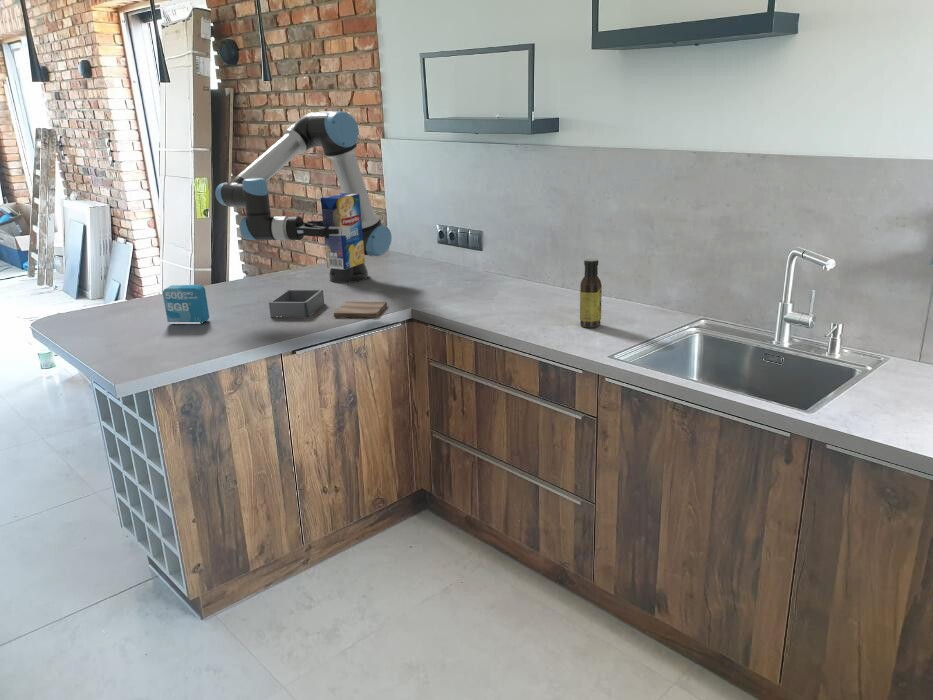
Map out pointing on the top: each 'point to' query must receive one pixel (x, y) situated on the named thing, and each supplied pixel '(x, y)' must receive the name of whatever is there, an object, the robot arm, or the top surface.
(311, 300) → the charcoal crate
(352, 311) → the brown flat wooden slab
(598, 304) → the sauce bottle
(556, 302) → the top surface
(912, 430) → the top surface
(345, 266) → the beverage box
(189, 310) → the data package
